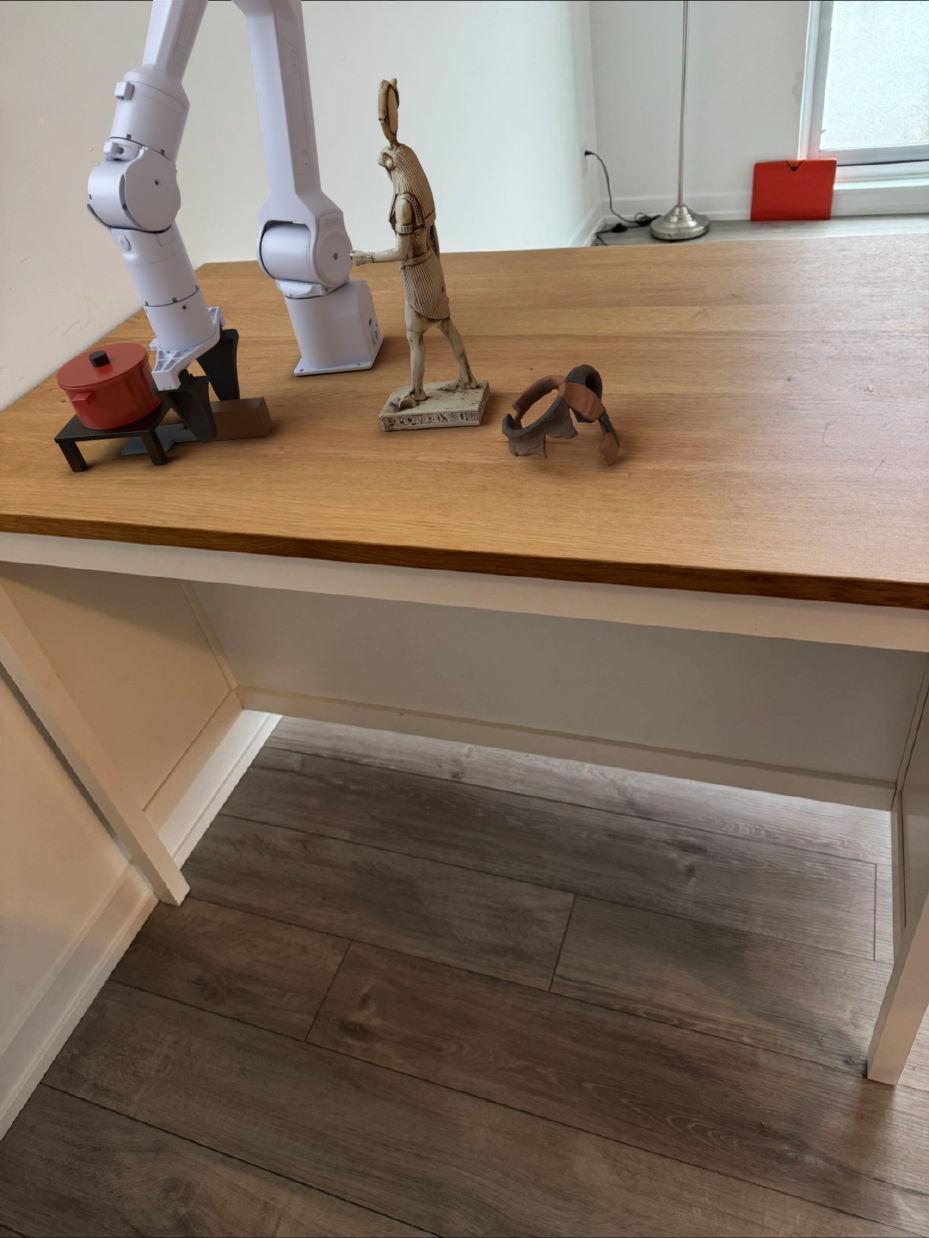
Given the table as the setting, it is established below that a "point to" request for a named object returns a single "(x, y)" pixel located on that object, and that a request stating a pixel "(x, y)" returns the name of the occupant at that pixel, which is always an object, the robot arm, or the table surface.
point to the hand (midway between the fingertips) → (219, 418)
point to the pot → (110, 401)
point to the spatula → (230, 421)
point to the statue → (420, 290)
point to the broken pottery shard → (561, 413)
